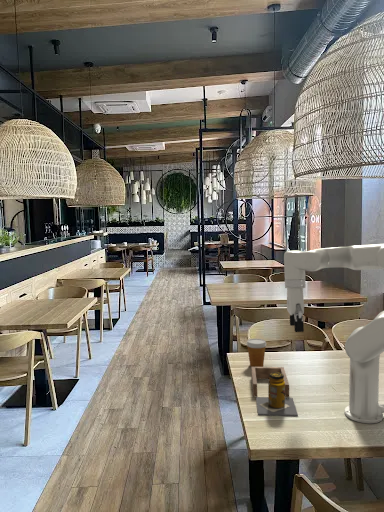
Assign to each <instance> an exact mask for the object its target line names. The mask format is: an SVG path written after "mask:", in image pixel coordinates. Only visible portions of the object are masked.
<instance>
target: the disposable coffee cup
mask: <svg viewBox="0 0 384 512" xmlns="http://www.w3.org/2000/svg"><path fill="white" fill-rule="evenodd" d="M267 345H268V344H267V342H266V340H264V339H262V338H249V339H247V341H246V346H247V351H248V352H247V353H248V361H249V366H250V368H251V367H264V362H265V354H266V353H265V352H266V346H267Z"/></svg>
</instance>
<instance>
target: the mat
mask: <svg viewBox="0 0 384 512" xmlns="http://www.w3.org/2000/svg"><path fill="white" fill-rule="evenodd" d="M255 401H256V408H257V409H256V410H257V411H256V412H257V415H258V416H267V417H268V416H271V417H272V416H273V417H274V416H276V417H280V416H281V417H299V414H298V411H297V408H296V403H295V400H294V399H293V397H285V404H287V405H289V407H287V408H284V409H281V410H278V411H275V412H272V411H270V410H267V409H266V408H264V407H262V406H261V405H260V404H263V403H266V402H268V396H255Z"/></svg>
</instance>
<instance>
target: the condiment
mask: <svg viewBox="0 0 384 512" xmlns="http://www.w3.org/2000/svg"><path fill="white" fill-rule="evenodd" d="M269 376H270V377H269V379H268V386H267V387H268V389H267V391H268V394H267V395H268V396H267V397H268V402H266V403H263V404H260V405H261V406H262V407H264V408H266V409H267V410H270V411H272V412H275V411H278V410H281V409H284V408H287V407H289V405H287V404H285V398H286V397H285V382H284V375H283V374H282V373H279V372H273V373H270V375H269Z"/></svg>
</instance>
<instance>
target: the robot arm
mask: <svg viewBox="0 0 384 512" xmlns="http://www.w3.org/2000/svg"><path fill="white" fill-rule="evenodd" d="M283 264H284V265H283V266H284V267H283V269H284V272H283V273H284V289H286V310H287V312H288V314H289V326H292V327H293V326H294V332H295V333H303V332H304V331H305V327H304V324H305V323H304V316H303V315H304V313H305V301H304V300H305V299H304V289H306V272H317V271H320V270H322V269H326V268H327V269H329V268H345V269H347V268H348V269H351V270H352V271H353V270H354V271H364V270H368V271H369V270H383V271H384V243H377V244H361V245H360V244H359V245H349V246H338V247H325V248H322V247H321V248H315V249H312V250H307V251H303V250H287V251H285V252H284V254H283ZM344 344H345V345H344V350H345V353H346V355H347V357H348V358H349V380H348V381H349V386H348V387H349V389H348V391H349V392H348V393H349V396H348V399H349V400H348V405H347V406H346V407H344V415H345V416H346V417H347V418H348V419H350V420H352V421H355V422H357V423H361V424H377V423H380V422H382V421H383V420H384V404H380V402H379V397H380V396H379V392H380V391H379V387H380V386H379V385H380V384H379V383H380V376H379V375H380V356H381V354H383V353H384V310H382V311H380V312H379V313H378V314H377V315H376V316H375V317H374V319H372V321H370V322H368V323H367V324H366V325H363V326H359V327H357V328H355V329H354V330H353V331H352V332H351V333H350V335H349V336H348V338H347V339H346V341H345V343H344Z"/></svg>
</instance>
